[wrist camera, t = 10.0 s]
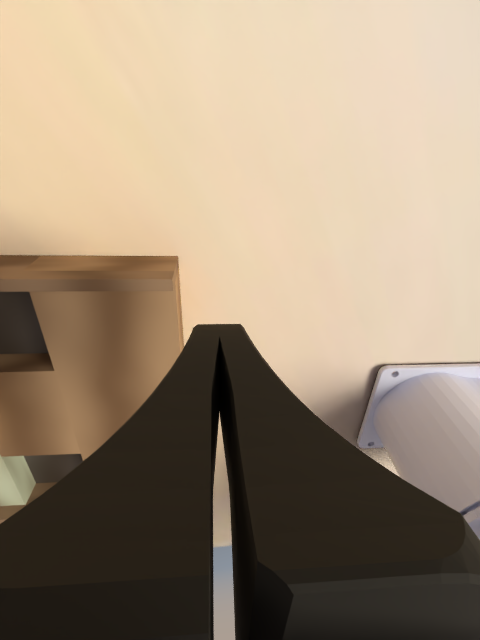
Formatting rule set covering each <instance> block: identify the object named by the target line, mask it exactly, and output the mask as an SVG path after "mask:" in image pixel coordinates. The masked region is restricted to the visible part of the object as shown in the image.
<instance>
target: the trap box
mask: <svg viewBox="0 0 480 640" xmlns="http://www.w3.org/2000/svg"><path fill="white" fill-rule="evenodd" d="M183 348H184V342H183V327H182V311H181V296H180V280H179V265H178V256H13V255H0V524H1V523H2V522H4V521H5V520H6V519H8V518H9V517H11V516H12V515H13V514H15V513H16V512H18V511H19V510H21V509H22V508H23V507H25V506H26V505H28V504H29V503H31V502H32V501H33V500H35V499H36V498H38V497H39V496H40V495H42V494H43V493H44V492H46V491H47V490H48V489H50V488H51V487H52V486H53V485H55V484H56V483H57V482H58V481H60V480H61V479H62V478H63V477H65V476H66V475H67V474H68V473H69V472H71V471H72V470H73V469H74V468H75V467H77V466H78V465H79V464H80V463H82V462H83V461H84V460H85V459H86V458H88V457H89V456H90V455H91V454H92V453H94V452H95V451H96V450H97V449H98V448H99V447H100V446H101V445H103V444H104V443H105V442H106V441H107V440H108V439H109V438H110V437H111V436H112V435H113V434H114V433H115V432H116V431H117V430H118V429H119V428H120V427H121V426H122V425H123V424H124V423H125V422H126V421H127V420H128V419H129V418H130V417H131V416H132V415H133V414H134V413H135V412H136V411H137V410H138V409H139V408H140V407H141V405H142V404H143V403H144V402H145V401H146V400H147V399H148V397H149V396H150V395H151V394H152V393H153V391H154V390H155V389H156V388H157V386H158V385H159V384H160V382H161V381H162V380H163V378H164V377H165V376H166V374H167V373H168V372H169V370H170V369H171V367H172V366H173V364H174V363H175V361H176V360H177V358H178V356H179V355H180V353H181V352H182V350H183Z"/></svg>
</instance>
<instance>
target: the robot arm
mask: <svg viewBox="0 0 480 640" xmlns="http://www.w3.org/2000/svg"><path fill="white" fill-rule="evenodd" d="M393 372H394V373H393ZM219 411H220V419H221V427H222V435H223V443H224V450H225V458H226V466H227V474H228V481H229V492H230V507H231V531H232V554H233V555H232V556H233V581H234V582H233V584H234V610H235V611H234V612H235V636H236V637H235V638H236V640H480V363H477V364H429V365H387V366H383V367H382V368H380V370H379V371H378V375H377V378H376V381H375V384H374V388H373V391H372V394H371V397H370V400H369V404H368V407H367V410H366V413H365V417H364V420H363V423H362V426H361V430H360V433H359V436H358V439H357V444H358V446H359V447H360V448H383V447H384V448H385V450H386V451H387V453H388V455H389V457H390V459H391V461H392V463H393V465H394V467H395V469H396V470H397V472H398V474H399V476H400V477H399V476H397V475H395V474H394V473H392V472H391V471H389V470H388V469H386V468H385V467H383V466H382V465H380V464H379V463H377V462H376V461H375V460H373V459H372V458H370V457H369V456H367V455H366V454H364V453H363V452H362V451H360V450H359V449H357V448H356V447H355V446H353V445H352V444H351V443H349V442H348V441H347V440H346V439H344V438H343V437H342V436H340V435H339V434H338V433H337V432H335V431H334V430H333V429H331V428H330V427H329V426H328V425H326V424H325V423H324V422H323V421H322V420H321V419H319V418H318V417H317V416H316V415H315V414H314V413H313V412H312V411H311V410H309V409H308V408H307V407H306V406H305V405H304V404H303V403H302V402H301V401H300V400H299V399H298V398H297V397H296V396H295V395H294V394H293V393H292V392H291V391H290V390H289V388H288V387H287V386H286V385H285V384H284V383H283V382H282V381H281V379H280V378H279V377H278V376H277V375H276V374H275V372H274V371H273V370H272V369H271V367H270V366H269V365H268V363H267V362H266V361H265V360H264V358H263V357H262V356H261V354H260V353H259V351H258V350H257V349H256V347H255V346H254V344H253V343H252V341H251V339H250V338H249V336H248V335H247V333H246V331H245V329H244V327H243V326H242V325H241V324H203V325H196V326H195V327H194V328H193V331H192V333H191V335H190V337H189V339H188V341H187V343H186V345H185V347H184V348H183V350H182V352H181V353H180V355H179V356H178V358H177V360H176V361H175V363H174V364H173V366H172V367H171V369H170V370H169V372H168V373H167V374H166V376H165V377H164V378H163V380H162V381H161V382H160V384H159V385H158V386H157V388H156V389H155V390H154V391H153V393H152V394H151V395H150V396H149V397H148V399H147V400H146V401H145V402H144V403H143V404H142V405H141V407H140V408H139V409H138V410H137V411H136V412H135V413H134V414H133V415H132V416H131V417H130V418H129V419H128V420H127V421H126V422H125V423H124V424H123V425H122V426H121V427H120V428H119V429H118V430H117V431H116V432H115V433H114V434H113V435H112V436H111V437H110V438H109V439H108V440H107V441H106V442H105V443H104V444H103V445H101V446H100V447H99V448H98V449H97V450H96V451H95V452H94V453H92V454H91V455H90V456H89V457H88V458H86V459H85V460H84V461H83V462H82V463H80V464H79V465H78V466H77V467H75V468H74V469H73V470H72V471H71V472H69V473H68V474H67V475H66V476H65V477H63V478H62V479H61V480H60V481H58V482H57V483H56V484H55V485H53V486H52V487H51V488H50V489H48V490H47V491H46V492H44V493H43V494H42V495H40V496H39V497H38V498H36V499H35V500H33V501H32V502H31V503H29V504H28V505H26V506H25V507H23V508H22V509H21V510H19V511H18V512H16V513H15V514H13V515H12V516H11V517H9V518H8V519H6V520H5V521H4V522H2V523H1V524H0V640H214V636H213V635H214V634H213V484H214V471H215V459H216V447H217V435H218V422H219Z"/></svg>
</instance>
